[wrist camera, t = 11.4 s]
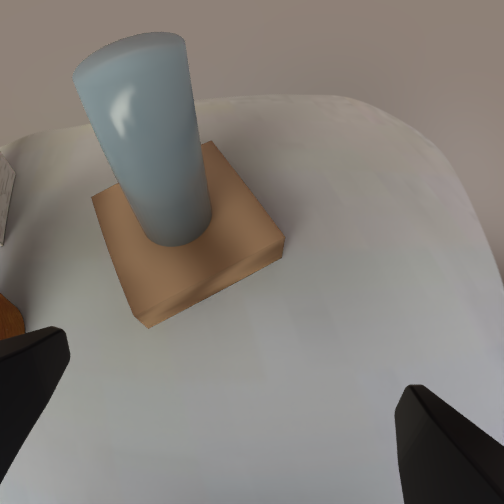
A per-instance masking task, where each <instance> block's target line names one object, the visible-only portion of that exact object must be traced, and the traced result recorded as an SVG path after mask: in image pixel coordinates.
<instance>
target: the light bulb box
mask: <svg viewBox="0 0 504 504" xmlns="http://www.w3.org/2000/svg"><path fill="white" fill-rule="evenodd" d="M15 174H16V173H15V172H14V170H13V169H12V167H11V166H10V165H9V163H8V162H7V160H6V159H5V158H4V156H3V155H2V153H1V152H0V247H1V246H3V241H4V233H5V226H6V220H7V214H8V208H9V203H10V197H11V192H12V188H13V183H14V178H15Z"/></svg>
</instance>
